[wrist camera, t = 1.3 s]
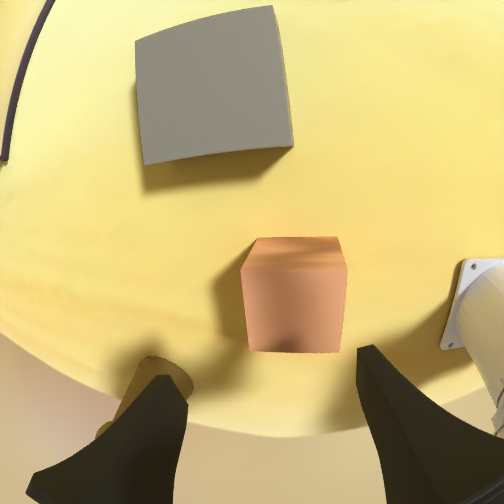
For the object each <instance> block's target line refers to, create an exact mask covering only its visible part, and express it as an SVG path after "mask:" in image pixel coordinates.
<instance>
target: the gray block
mask: <svg viewBox="0 0 504 504" xmlns="http://www.w3.org/2000/svg"><path fill="white" fill-rule="evenodd" d="M135 67H136V89H137V104H138V116H139V127H140V136H141V145H142V153H143V161H144V166H145V165H151V164H157V163H164V162H170V161H176V160H181V159H187V158H193V157H200V156H206V155H213V154H220V153H228V152H236V151H245V150H254V149H265V148H277V147H291V146H294V140H293V130H292V121H291V112H290V103H289V95H288V87H287V79H286V72H285V65H284V58H283V51H282V45H281V39H280V32H279V27H278V23H277V20H276V16H275V13H274V9H273V6H272V5H270V6H262V7H255V8H248V9H242V10H237V11H231V12H226V13H222V14H217V15H213V16H209V17H205V18H201V19H197V20H194V21H190V22H187V23H183V24H180V25H177V26H174V27H171V28H168V29H165V30H162V31H159V32H157V33H154V34H151V35H149V36H146V37H144V38H141V39H139V40H136V41H135Z"/></svg>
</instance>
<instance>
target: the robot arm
mask: <svg viewBox="0 0 504 504" xmlns="http://www.w3.org/2000/svg"><path fill="white" fill-rule="evenodd" d="M473 264H474V266H473V267H472V268H471V266H472V265H473ZM450 343H451V344H450ZM461 347H466V349H467V351H468V353H469V354H470V356H471V358H472V360H473V362H474V363H475V365H476V367H477V369H478V371H479V373H480V375H481V377H482V379H483V381H484V382H485V384H486V387H487V389H488V390H489V393H490V395H491V397H492V399H493V401H494V403H495V406H496V408H497V411H496V413H495V415H494V416H493V417H492V422H493V425H494V427H495V431H494V433H493V434H492V435H491V434H489V433H487V432H484V431H482V430H480V429H478V428H476V427H474V426H472V425H470V424H468V423H466V422H464V421H462V420H460V419H459V418H457V417H455V416H454V415H452V414H451V413H449V412H447V411H446V410H445V409H443V408H442V407H440V406H439V405H437V404H436V403H435V402H433V401H432V400H431V399H429V398H428V397H427V396H426V395H425V394H423V393H422V392H421V391H420V390H419V389H417V388H416V387H415V386H414V385H413V384H412V383H411V382H410V381H409V380H407V379H406V378H405V377H404V376H403V375H402V374H401V373H400V372H399V371H398V370H397V369H396V368H395V367H394V366H393V365H392V364H391V363H390V362H389V361H388V360H387V359H386V357H385V356H384V355H383V354H382V353H381V352H380V351H379V350H378V349H377V347H376V346H374V345H373V344H372V345H368V346H365V347H361V348H357V370H356V385H357V390H358V394H359V398H360V402H361V406H362V409H363V412H364V414H365V417H366V420H367V423H368V426H369V428H370V431H371V434H372V437H373V439H374V443H375V445H376V449H377V451H378V455H379V459H380V464H381V469H382V474H383V480H384V486H385V493H386V501H387V504H504V258H469V259H465V260H464V261H463V263H462V266H461V271H460V275H459V280H458V284H457V288H456V293H455V296H454V300H453V304H452V308H451V311H450V315H449V318H448V321H447V324H446V328H445V331H444V334H443V337H442V339H441V342H440V348H441V350H449V349H455V348H461ZM187 415H188V403H187V402H186V400H185V399H184V397H183V396H182V394H181V392H180V391H179V389H178V388H177V386H176V384H175V383H174V381H173V379H172V378H171V376H170V374H169V375H156V376H155V377H154V378H153V379H152V380H151V382H150V383H149V384H148V385H147V386H146V387H145V388H144V390H143V391H142V392H141V393H140V394H139V395H138V397H137V398H136V399H135V400H134V401H133V402H132V403H131V405H130V406H129V407H128V408H127V409H126V410H125V411H124V412H123V413H122V414H121V415H120V416H119V418H118V419H117V420H116V421H115V422H114V423H113V424H112V425H111V426H110V427H109V428H108V429H107V430H105V431H104V432H103V433H102V434H101V435H100V436H99V437H97V438H96V439H95V440H94V441H93V442H91V443H90V444H89V445H87V446H86V447H84V448H83V449H82V450H80V451H79V452H77V453H76V454H74V455H73V456H71V457H69V458H67V459H66V460H64V461H62V462H60V463H58V464H56V465H54V466H51V467H49V468H46V469H44V470H41V471H39V472H36V473H34V474H33V476H32V478H31V481H30V483H29V485H28V488H27V490H26V494H27V495H28V496H29V497H30V498H32V499H33V500H35V501H36V502H38V503H39V504H173V489H174V478H175V472H176V467H177V463H178V459H179V455H180V451H181V446H182V442H183V438H184V434H185V430H186V424H187Z"/></svg>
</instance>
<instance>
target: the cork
mask: <svg viewBox="0 0 504 504" xmlns="http://www.w3.org/2000/svg"><path fill="white" fill-rule="evenodd" d="M169 374H170V376H171V378H172V379H173V381H174V383H175V384H176V386H177V388H178V389H179V391H180V392H181V394H182V396H183V397H184V399H185V400H186V401H187V399H188V398H189V396H190V395H191V393H192V391H193V383H192V381H191V379H190V377H189V376H188V375H187V374H186V373H185V372H184V370H182V369H181V368H180V367H178V366H177V365H176V364H174V363H172V362H170V361H168V360H166V359H163V358H160V357H147V358H144V359H143V360H142V361H141V363H140V365H139V367H138V369H137V371H136V373H135V375H134V377H133V379H132V381H131V383H130V385H129V387H128V389H127V391H126V393H125V395H124V398H123V400H122V402H121V404H120V406H119V408H118V411H117V413H116V415H115V417H114V419H113V421H110V422H107V423H105V424H104V425H103V426H102V427H101V428H100V429H99V430H98V431H97V434H96V437H95V439H96V438H97V437H99V436H100V435H101V434H102V433H103V432H104V431H105V430H107V429H108V428H109V427H110V426H111V425H112V424H113V423H114V422H115V421H116V420H117V419H118V418H119V416H120V415H121V414H122V413H123V412H124V411H125V410H126V409H127V408H128V407H129V406H130V405H131V403H132V402H133V401H134V400H135V399H136V398H137V397H138V395H139V394H140V393H141V392H142V391H143V390H144V388H145V387H146V386H147V385H148V384H149V383H150V382H151V380H152V379H153V378H154V377H155V376H156V375H169Z"/></svg>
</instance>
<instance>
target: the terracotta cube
mask: <svg viewBox="0 0 504 504" xmlns="http://www.w3.org/2000/svg"><path fill="white" fill-rule="evenodd" d="M347 271H348V270H347V266H346V263H345V260H344V256H343V253H342V250H341V247H340V243H339V240H338V237H272V238H258V239H257V240H256V242H255V244H254V246H253V248H252V250H251V251H250V253H249V255H248V257H247V259H246V261H245V262H244V264H243V266H242V268H241V270H240V273H241V282H242V291H243V300H244V308H245V317H246V326H247V334H248V343H249V351H262V352H286V353H339V351H340V344H341V336H342V328H343V319H344V309H345V298H346V286H347Z"/></svg>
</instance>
